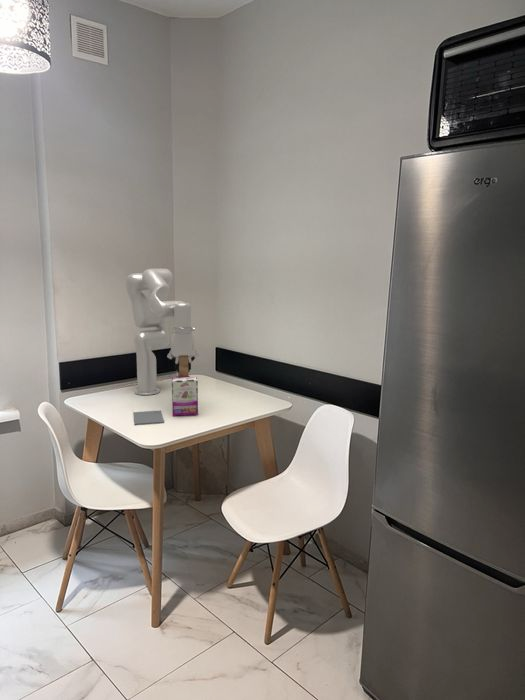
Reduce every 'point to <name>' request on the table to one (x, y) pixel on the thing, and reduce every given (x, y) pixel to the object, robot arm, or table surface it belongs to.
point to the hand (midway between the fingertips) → (183, 371)
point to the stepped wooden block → (183, 366)
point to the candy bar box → (185, 396)
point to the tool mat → (148, 417)
